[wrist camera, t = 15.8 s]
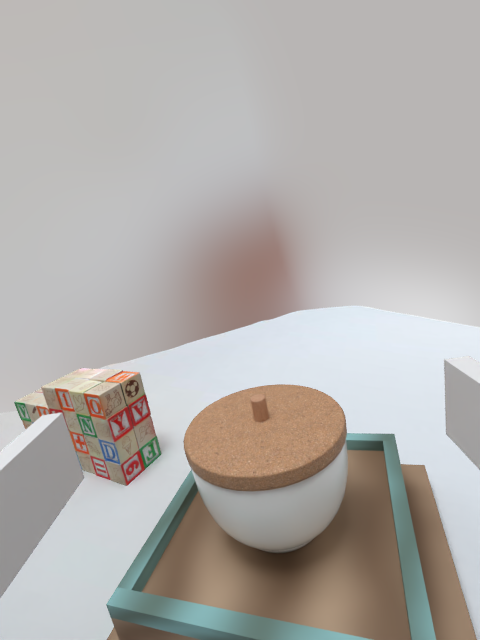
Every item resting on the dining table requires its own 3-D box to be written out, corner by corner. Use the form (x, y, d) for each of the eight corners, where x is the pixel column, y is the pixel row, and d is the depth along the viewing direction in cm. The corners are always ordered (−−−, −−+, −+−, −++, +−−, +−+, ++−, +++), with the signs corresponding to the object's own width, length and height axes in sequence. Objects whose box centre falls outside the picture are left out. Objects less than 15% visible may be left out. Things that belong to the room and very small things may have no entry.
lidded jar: (215, 474, 30) (192, 377, 28) (336, 456, 29) (322, 356, 27) (196, 601, 19) (157, 462, 17) (384, 579, 19) (367, 430, 17)
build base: (76, 734, 19) (37, 645, 18) (215, 471, 40) (203, 418, 38) (552, 927, 12) (558, 805, 10) (425, 483, 32) (421, 418, 30)
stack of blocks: (34, 455, 51) (6, 382, 49) (71, 432, 57) (47, 364, 54) (127, 487, 40) (98, 393, 37) (163, 454, 45) (140, 370, 42)
